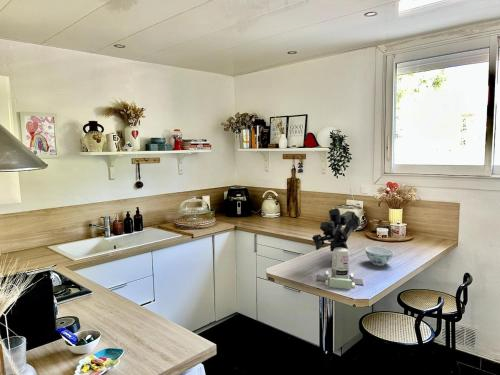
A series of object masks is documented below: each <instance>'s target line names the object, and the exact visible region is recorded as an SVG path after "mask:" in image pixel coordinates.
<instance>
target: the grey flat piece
mask: <svg viewBox="0 0 500 375" xmlns="http://www.w3.org/2000/svg"><path fill="white" fill-rule="evenodd" d="M316 277H317V278H316V281H317V282H325V286H329V288H336V289H346V290H352V289H354V288H356V286H361V287H363V286H364V281H363V279H362V278H355V277H354V273H353V272H351V273H350V279H349V278H348V279H342V278H332V277H331V276H330V277H329V270H326V271H325V275H323V274H321V275H320V274H317V276H316ZM328 277H329V280H328Z"/></svg>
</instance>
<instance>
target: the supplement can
mask: <svg viewBox="0 0 500 375" xmlns="http://www.w3.org/2000/svg"><path fill="white" fill-rule="evenodd" d="M331 261H332V262H331V276H330V277H331V278H342V279H349V272H350V271H349V267H350V251H349V248H348V249H346V248H334V250H333V252H332V256H331Z"/></svg>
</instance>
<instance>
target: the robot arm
mask: <svg viewBox="0 0 500 375" xmlns="http://www.w3.org/2000/svg"><path fill="white" fill-rule="evenodd" d="M328 217H329V221H323V222H321V223H320V226H319V229H320V230H321V231H323V236H322V235H321V234H315V235H313V236H312V240H313V242H314V244H315V249H316V251H318V250H320V249H321V248H323V247H324V245H325V242H326V241H328V243H329V244H330V245H329V249H330V252H332V253H333V250H334V248H346V249H348V250H349V247H348V244H347V241H348V240H349V238H350V236H351V234H352V232H353V231H356V230H358V229H359V227H360V226H361V220H360V217H359V215H356V212H354V211H348V210H347V211H345V212H344V213H341V211H340V210H339V208H337V207H335V208H333V209H330V210H329V211H328ZM330 262H331V263H332V260H331V261H330Z"/></svg>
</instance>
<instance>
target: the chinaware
mask: <svg viewBox="0 0 500 375" xmlns="http://www.w3.org/2000/svg"><path fill="white" fill-rule="evenodd" d="M365 254H366V256H367V258H368V260H369V261H370V262H371V263H372V264H373V265H374V266H385V264H386V263H388V262H390V261H391V259H392V258H393V255H394V251H393V250H392V249H390V248H387V247H382V246H367V247H366V248H365Z"/></svg>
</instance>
